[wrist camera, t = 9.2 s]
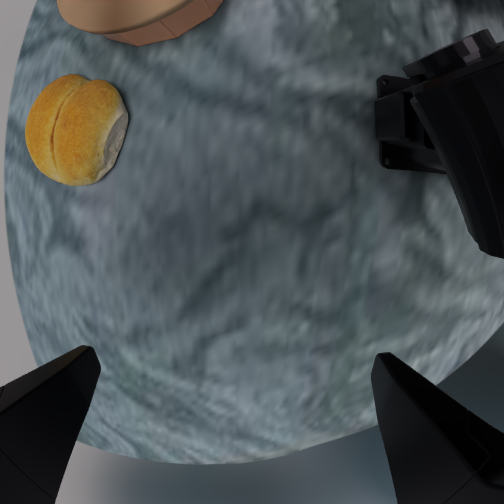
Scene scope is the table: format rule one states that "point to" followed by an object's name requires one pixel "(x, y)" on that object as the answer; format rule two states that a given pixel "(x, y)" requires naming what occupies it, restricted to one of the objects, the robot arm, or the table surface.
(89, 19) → the lid
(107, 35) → the bowl
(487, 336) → the table surface
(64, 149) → the bread roll
